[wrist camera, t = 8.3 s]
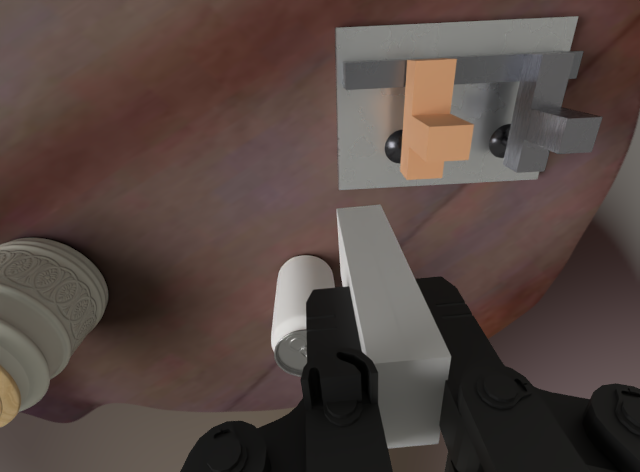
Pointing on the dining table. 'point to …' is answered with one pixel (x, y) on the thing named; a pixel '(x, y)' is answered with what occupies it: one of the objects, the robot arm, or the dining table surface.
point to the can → (296, 309)
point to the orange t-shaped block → (431, 120)
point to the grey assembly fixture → (460, 98)
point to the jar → (42, 316)
